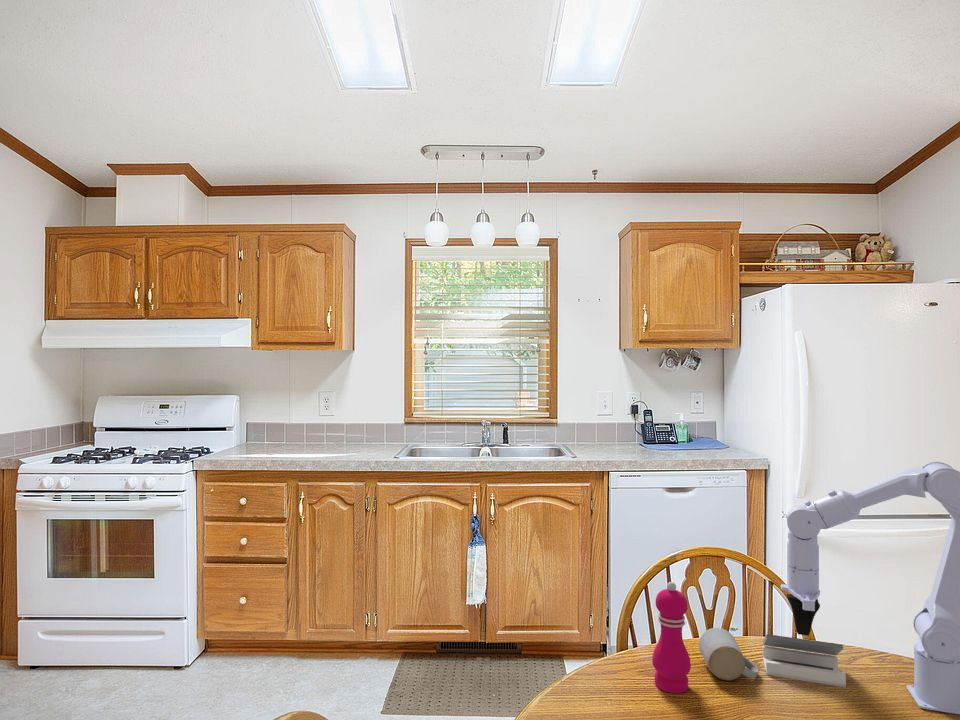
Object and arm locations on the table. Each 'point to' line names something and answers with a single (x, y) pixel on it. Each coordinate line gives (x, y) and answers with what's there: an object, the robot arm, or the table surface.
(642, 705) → the table surface
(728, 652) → the ceramic mug
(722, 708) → the table surface
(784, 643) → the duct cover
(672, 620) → the pepper mill
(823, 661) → the cable duct
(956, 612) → the robot arm
